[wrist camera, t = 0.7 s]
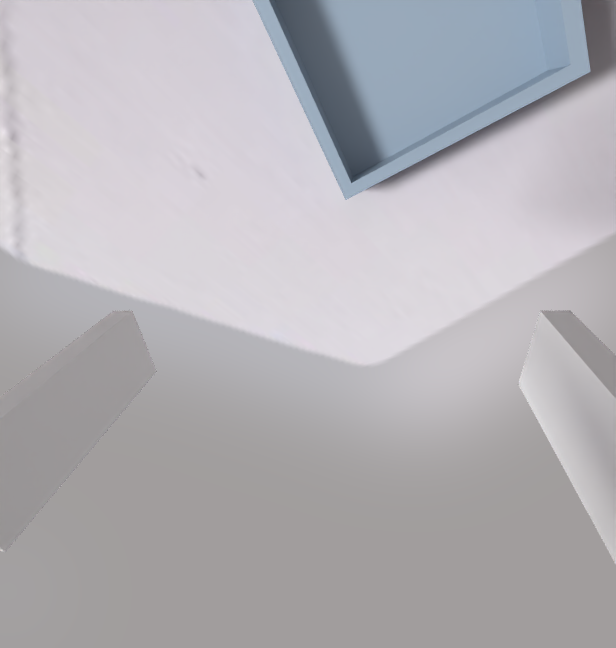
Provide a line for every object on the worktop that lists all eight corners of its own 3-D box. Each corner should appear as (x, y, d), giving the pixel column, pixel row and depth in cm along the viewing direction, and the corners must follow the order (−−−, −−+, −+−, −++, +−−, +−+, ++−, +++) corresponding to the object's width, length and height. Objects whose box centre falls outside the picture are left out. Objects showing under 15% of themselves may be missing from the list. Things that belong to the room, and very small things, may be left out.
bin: (245, -34, 26) (226, -57, 22) (503, -270, 19) (532, -355, 15) (348, 190, 33) (345, 199, 29) (561, 77, 26) (590, 71, 23)
